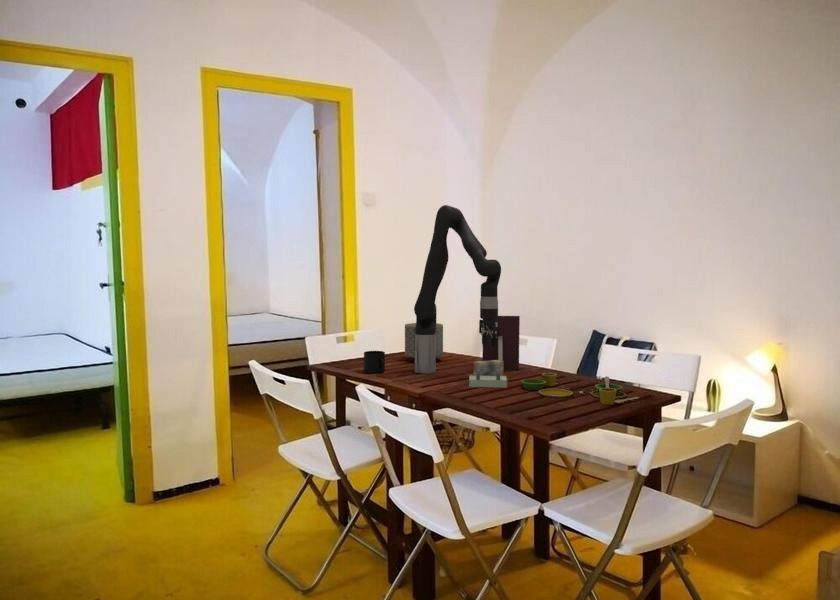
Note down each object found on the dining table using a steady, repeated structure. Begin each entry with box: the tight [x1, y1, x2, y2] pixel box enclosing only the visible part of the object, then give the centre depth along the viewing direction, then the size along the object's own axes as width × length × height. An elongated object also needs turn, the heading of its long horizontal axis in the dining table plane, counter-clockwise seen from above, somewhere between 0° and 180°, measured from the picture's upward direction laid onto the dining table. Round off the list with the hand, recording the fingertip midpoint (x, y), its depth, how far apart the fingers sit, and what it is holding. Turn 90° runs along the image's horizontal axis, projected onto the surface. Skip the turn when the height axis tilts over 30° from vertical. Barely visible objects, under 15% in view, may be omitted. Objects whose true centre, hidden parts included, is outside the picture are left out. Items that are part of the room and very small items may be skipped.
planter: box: [404, 322, 444, 362], centre depth 317 cm, size 19×19×18 cm
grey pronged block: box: [468, 366, 508, 389], centre depth 258 cm, size 15×9×7 cm, turn 85°
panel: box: [473, 360, 505, 376], centre depth 269 cm, size 12×4×8 cm, turn 110°
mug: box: [363, 350, 386, 375], centre depth 286 cm, size 9×12×9 cm
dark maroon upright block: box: [481, 315, 521, 371], centre depth 288 cm, size 17×10×25 cm, turn 84°
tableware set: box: [520, 372, 640, 406], centre depth 243 cm, size 41×28×6 cm
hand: (489, 345), depth 268 cm, fingers open, 8 cm apart
